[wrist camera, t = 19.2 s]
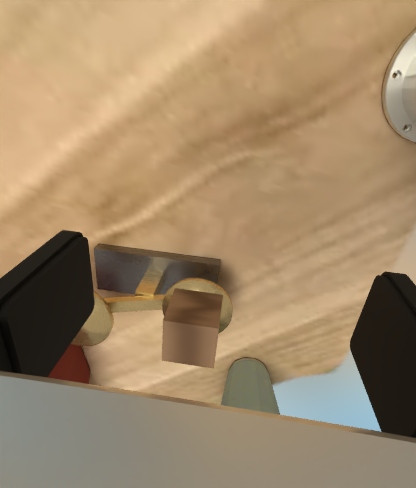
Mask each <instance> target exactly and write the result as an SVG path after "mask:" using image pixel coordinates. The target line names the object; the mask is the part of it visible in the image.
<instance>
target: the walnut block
mask: <svg viewBox="0 0 416 488" xmlns="http://www.w3.org/2000/svg"><path fill="white" fill-rule="evenodd" d="M222 300H223V295H221V294H214V293H207V292H200V291H193V290H186V289H179V288H175V289H174V292H173V295H172V297H171V300H170V303H169V305H168V308H167V311H166V314H165V316H164V319H163V344H162V361H169V362H175V363H182V364H188V365H195V366H201V367H207V368H214V362H215V355H216V347H217V339H218V332H219V324H220V316H221V308H222Z"/></svg>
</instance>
